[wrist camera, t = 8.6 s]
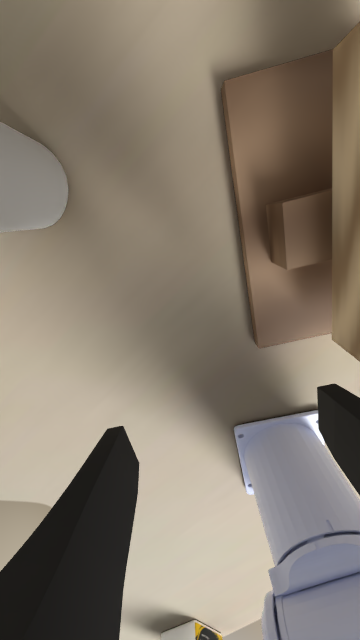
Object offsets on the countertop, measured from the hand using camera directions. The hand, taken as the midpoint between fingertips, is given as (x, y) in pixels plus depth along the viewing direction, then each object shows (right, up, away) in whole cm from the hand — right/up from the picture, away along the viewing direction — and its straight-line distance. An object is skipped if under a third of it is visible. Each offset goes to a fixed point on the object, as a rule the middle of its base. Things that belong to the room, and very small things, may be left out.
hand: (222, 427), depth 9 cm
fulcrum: (+8, +11, +7) cm, 15 cm away
